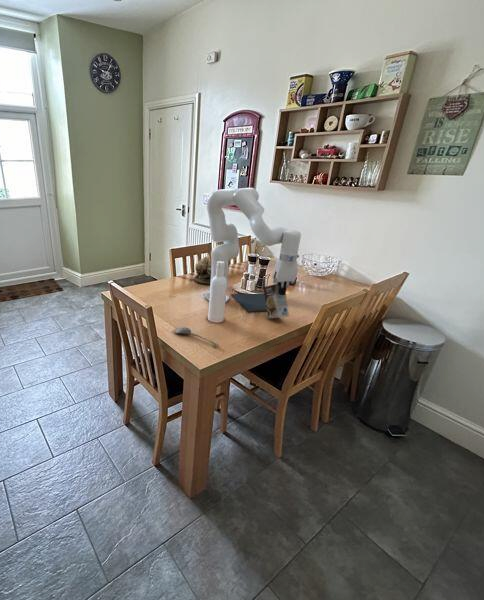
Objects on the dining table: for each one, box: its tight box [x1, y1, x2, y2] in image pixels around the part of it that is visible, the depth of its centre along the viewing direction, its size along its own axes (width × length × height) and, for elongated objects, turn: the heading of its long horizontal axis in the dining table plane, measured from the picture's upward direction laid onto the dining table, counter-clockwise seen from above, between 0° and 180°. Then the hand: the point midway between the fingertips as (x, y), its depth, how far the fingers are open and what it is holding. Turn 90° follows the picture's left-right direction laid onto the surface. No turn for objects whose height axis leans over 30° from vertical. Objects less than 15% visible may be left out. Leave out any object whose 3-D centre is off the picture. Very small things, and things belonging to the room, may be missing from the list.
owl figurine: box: [193, 255, 212, 286], centre depth 212 cm, size 18×12×17 cm, turn 43°
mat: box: [230, 292, 267, 313], centre depth 185 cm, size 20×24×1 cm
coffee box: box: [262, 283, 290, 319], centre depth 163 cm, size 9×6×16 cm
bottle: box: [207, 261, 228, 324], centre depth 159 cm, size 8×8×30 cm
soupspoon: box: [174, 326, 219, 347], centre depth 146 cm, size 22×3×7 cm
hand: (281, 294), depth 158 cm, fingers closed
